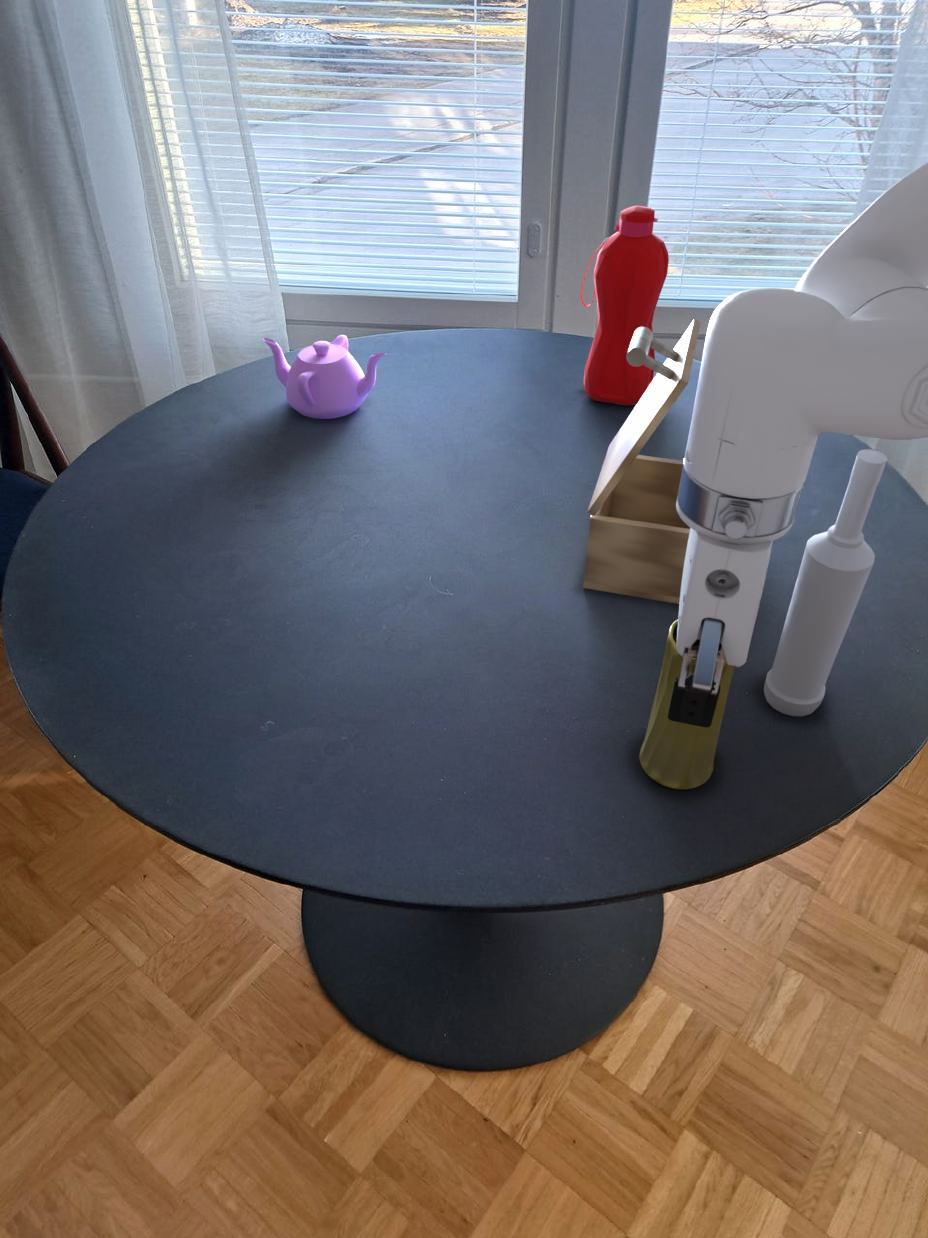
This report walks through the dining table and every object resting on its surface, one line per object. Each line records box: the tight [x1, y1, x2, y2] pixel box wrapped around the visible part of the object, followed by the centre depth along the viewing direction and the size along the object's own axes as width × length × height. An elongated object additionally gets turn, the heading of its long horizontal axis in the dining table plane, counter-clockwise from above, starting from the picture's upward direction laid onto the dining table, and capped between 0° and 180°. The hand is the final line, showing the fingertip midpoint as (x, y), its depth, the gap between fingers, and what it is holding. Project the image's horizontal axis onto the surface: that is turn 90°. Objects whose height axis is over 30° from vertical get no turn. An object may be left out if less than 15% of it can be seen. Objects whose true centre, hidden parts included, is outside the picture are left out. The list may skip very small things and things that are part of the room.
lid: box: [587, 318, 702, 516], centre depth 85 cm, size 16×14×5 cm
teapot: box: [262, 334, 387, 420], centre depth 121 cm, size 12×14×9 cm
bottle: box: [763, 448, 888, 717], centre depth 71 cm, size 5×5×25 cm
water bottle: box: [580, 205, 670, 407], centre depth 118 cm, size 9×11×25 cm
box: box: [582, 454, 690, 605], centre depth 92 cm, size 16×14×9 cm
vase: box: [639, 619, 735, 791], centre depth 69 cm, size 6×6×14 cm
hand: (693, 686), depth 68 cm, fingers open, 6 cm apart
